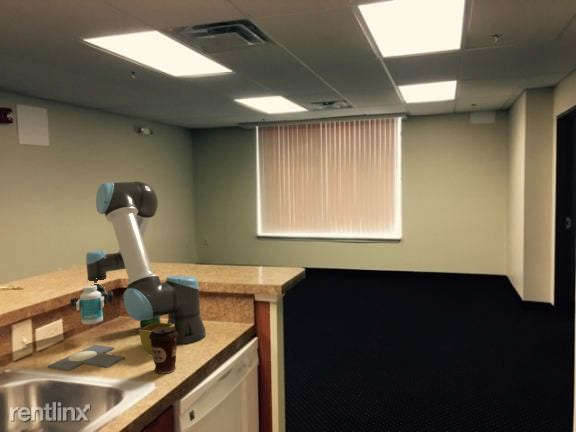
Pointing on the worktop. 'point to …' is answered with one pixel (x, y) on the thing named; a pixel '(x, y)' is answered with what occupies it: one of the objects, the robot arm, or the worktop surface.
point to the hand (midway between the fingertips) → (89, 305)
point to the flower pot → (147, 331)
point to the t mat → (88, 358)
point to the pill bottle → (91, 305)
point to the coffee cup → (164, 348)
